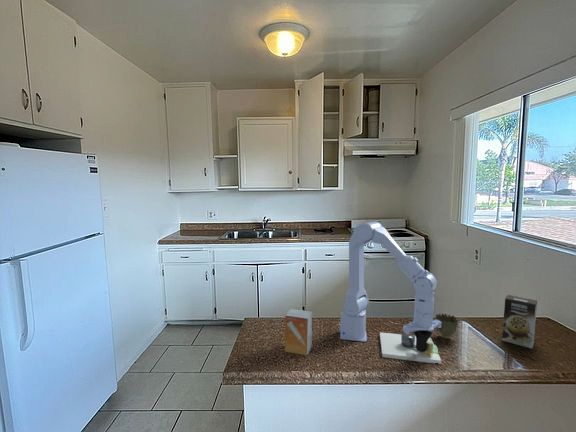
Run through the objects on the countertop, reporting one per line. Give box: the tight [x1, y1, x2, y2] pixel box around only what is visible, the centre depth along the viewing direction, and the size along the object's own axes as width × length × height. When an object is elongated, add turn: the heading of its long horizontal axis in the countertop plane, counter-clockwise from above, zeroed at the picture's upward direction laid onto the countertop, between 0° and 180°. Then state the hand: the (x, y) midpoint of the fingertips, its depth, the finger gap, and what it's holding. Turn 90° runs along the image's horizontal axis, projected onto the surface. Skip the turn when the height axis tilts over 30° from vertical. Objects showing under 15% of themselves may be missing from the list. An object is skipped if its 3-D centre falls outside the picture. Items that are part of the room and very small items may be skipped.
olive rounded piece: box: [435, 313, 459, 340], centre depth 117 cm, size 8×7×8 cm
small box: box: [284, 308, 313, 356], centre depth 108 cm, size 8×6×13 cm
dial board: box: [379, 331, 442, 365], centre depth 109 cm, size 19×18×1 cm
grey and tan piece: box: [401, 332, 434, 356], centre depth 106 cm, size 11×4×4 cm, turn 32°
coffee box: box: [501, 294, 538, 349], centre depth 114 cm, size 9×6×16 cm
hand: (420, 350), depth 104 cm, fingers closed, pressing on grey and tan piece
